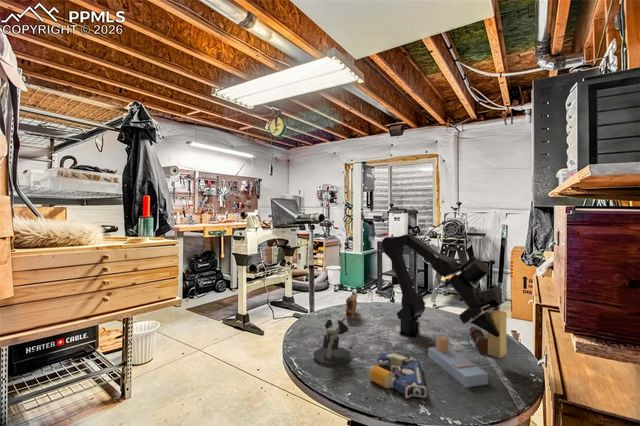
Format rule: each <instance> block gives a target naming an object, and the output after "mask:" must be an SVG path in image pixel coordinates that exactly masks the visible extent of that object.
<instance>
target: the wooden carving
mask: <svg viewBox="0 0 640 426" xmlns="http://www.w3.org/2000/svg"><path fill="white" fill-rule="evenodd" d="M357 298H358V295H357V294H355V293H353V294H351V295H350V296H348V297H347V298H346V299H345V304H346V305H345V306H346V308H345V318H350V319H353V318H354V317H355V313H356V310H357V303H358V301H357ZM353 316H354V317H353Z"/></svg>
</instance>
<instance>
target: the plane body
mask: <svg viewBox="0 0 640 426" xmlns="http://www.w3.org/2000/svg"><path fill="white" fill-rule="evenodd" d="M449 345H450V344H449V338H448V337H447V336H445V335H440V336H435V346H432V347H428V348H427V352H428V353H427V356H428V358H429V359H430V360H432V362H434V363H435V364H436V365H438V366H439V367H440V368H441V369H442V370H444V371H445V372H446V373H447V374H448V375H450V376H451V377H453V378H454V379H455V381H457V382H458V383H459V384H461V385H462V386H463V387H465V388H471V387H477V386H478V387H479V386H485V385H488V381H489V380H488V378H489V374H488V373H487V372H486V371H485V370H484V369H482V368H480V367H479V366H477V365H476V364H475V363H473V362H472V361H470V360H469V359H467V358H466V357H465V356H463V355H461V354H460V353H458V352H457V351H455V349H453V348H451V347H450V346H449Z"/></svg>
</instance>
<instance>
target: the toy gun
mask: <svg viewBox="0 0 640 426" xmlns="http://www.w3.org/2000/svg"><path fill="white" fill-rule="evenodd" d="M377 363H378V365H380V366H378V365H373V366H372V367H371V368H370V370H369V376H368V377H369V380H370V381H372V382H374V383H375V384H377V385H379V386H381V387H383V388H385V389H386V390H387V389H395V390H396V391H397V392H399V393H400V394H402V395H404V397H405V399H409V398H411V397H418V398H424V399H425V398H427V393H428V392H427V391H428V389H427V387H426V386H425V382H424V379H423V374H422V371H421V370H422V366H421V362H420V361H419V360H418V359H415V358H414V357H413V356H409V357H407V356H404V355H401V354H397V353H394V352H392V351H391V352H386V353H379V354H378V356H377ZM381 366H386V367H387V368H389V369H390V371H389V370H387V369H384V368H382V367H381Z"/></svg>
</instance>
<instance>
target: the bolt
mask: <svg viewBox="0 0 640 426" xmlns="http://www.w3.org/2000/svg"><path fill="white" fill-rule="evenodd" d="M481 329H482V328H479V327H477V326H476V327H475V326H472V327H470V328H469V333H468V334H469V336H470V337H471V339H472V341H474V342H473V344H474V346H475V348H476V350H477V351H478V352H479V353H482V354H488V336H486V337H485V334H484V333H483V331H482V330H481Z"/></svg>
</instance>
